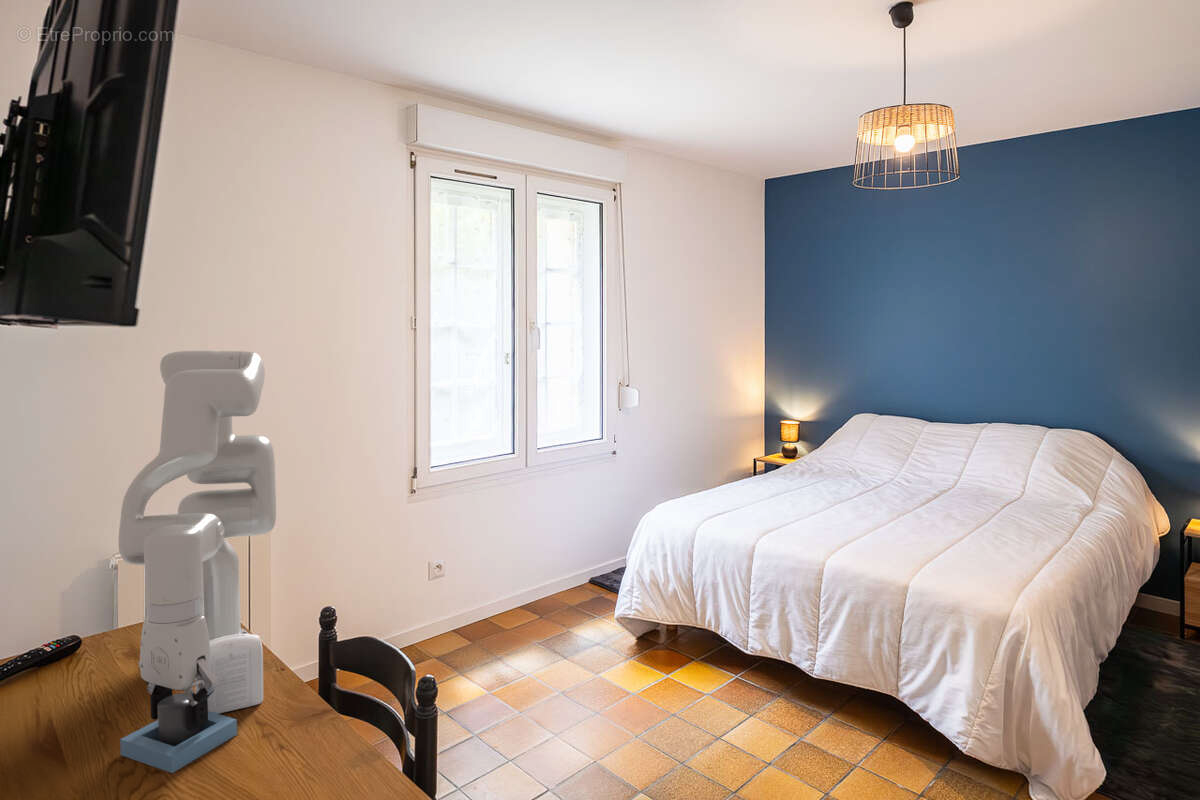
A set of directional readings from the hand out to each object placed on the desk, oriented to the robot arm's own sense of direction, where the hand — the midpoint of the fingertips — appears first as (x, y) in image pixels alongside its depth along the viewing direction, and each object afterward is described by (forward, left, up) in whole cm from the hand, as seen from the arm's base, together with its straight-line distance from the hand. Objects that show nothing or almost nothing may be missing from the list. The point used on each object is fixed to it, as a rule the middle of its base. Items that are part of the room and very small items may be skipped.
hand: (179, 719), depth 110 cm
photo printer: (-2, +11, -4) cm, 12 cm away
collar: (0, 0, -4) cm, 4 cm away
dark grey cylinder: (0, 0, -4) cm, 4 cm away
